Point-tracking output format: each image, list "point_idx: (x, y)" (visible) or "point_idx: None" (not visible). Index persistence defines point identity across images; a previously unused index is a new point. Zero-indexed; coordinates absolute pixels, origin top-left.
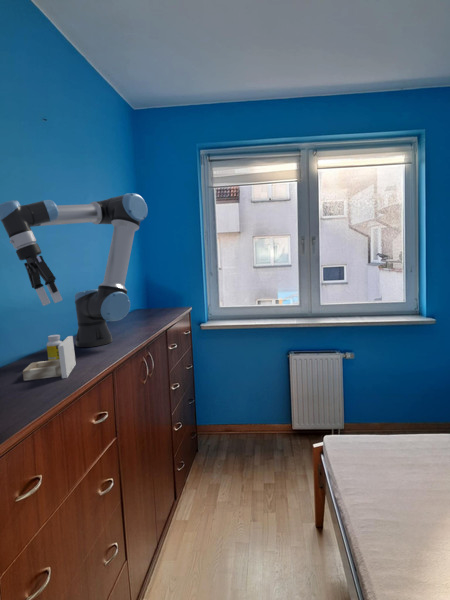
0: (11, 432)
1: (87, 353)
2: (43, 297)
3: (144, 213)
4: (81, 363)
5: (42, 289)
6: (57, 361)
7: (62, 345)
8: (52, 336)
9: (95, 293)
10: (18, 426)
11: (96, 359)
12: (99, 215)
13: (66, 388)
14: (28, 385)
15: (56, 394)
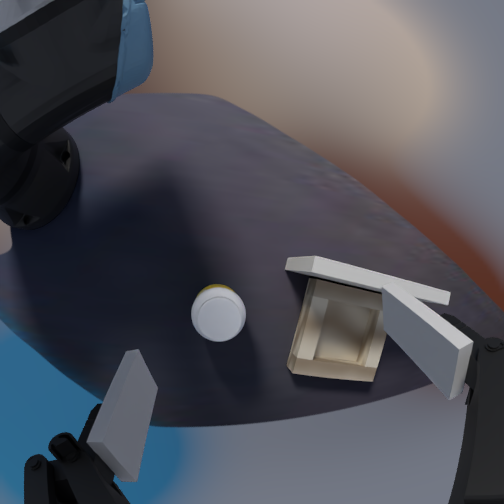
0: None
1: (158, 208)
2: (139, 406)
3: None
4: (290, 242)
5: (117, 436)
6: (325, 307)
7: (445, 294)
8: (239, 325)
9: None
10: None
11: (270, 198)
12: None
13: (456, 290)
14: (401, 359)
15: (470, 305)
